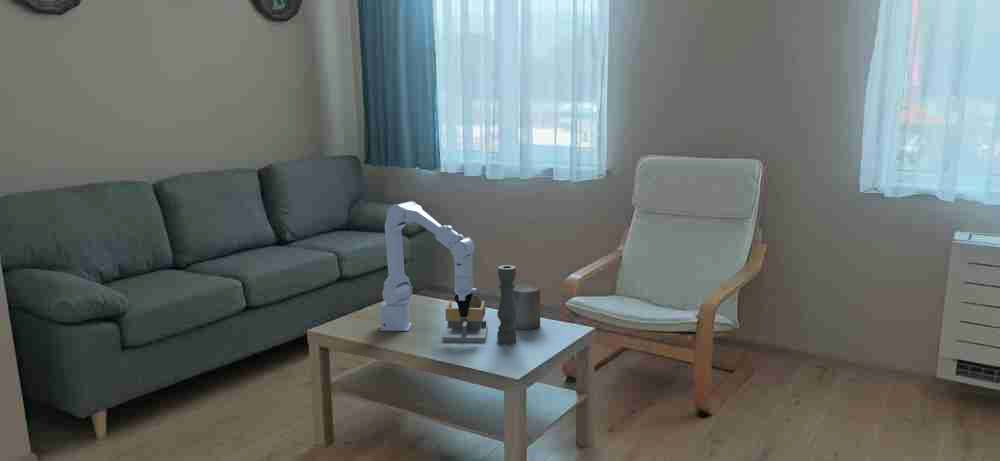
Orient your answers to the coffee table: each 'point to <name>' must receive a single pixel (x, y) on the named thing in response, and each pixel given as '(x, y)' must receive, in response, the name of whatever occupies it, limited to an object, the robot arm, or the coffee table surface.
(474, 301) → the vase
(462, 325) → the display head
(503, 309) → the candle holder
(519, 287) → the pillar candle
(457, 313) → the tan bracket frame
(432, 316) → the coffee table surface
